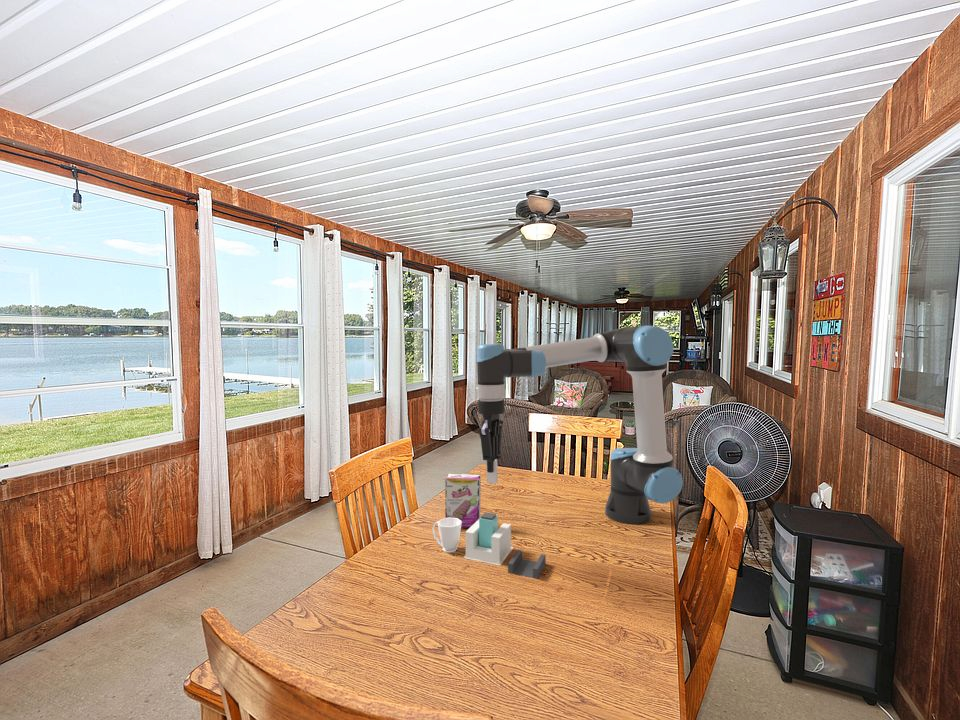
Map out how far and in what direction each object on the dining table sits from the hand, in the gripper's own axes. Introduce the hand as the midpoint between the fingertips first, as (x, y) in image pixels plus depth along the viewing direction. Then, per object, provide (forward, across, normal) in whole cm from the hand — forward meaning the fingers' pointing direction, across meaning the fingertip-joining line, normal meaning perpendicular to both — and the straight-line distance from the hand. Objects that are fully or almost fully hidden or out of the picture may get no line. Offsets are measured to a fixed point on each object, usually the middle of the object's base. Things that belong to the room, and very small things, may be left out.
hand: (492, 482), depth 123 cm
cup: (+21, +2, -14) cm, 25 cm away
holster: (+21, +5, +12) cm, 24 cm away
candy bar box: (+21, -14, -16) cm, 30 cm away
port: (+20, +1, -1) cm, 20 cm away
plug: (+20, +1, -1) cm, 20 cm away
